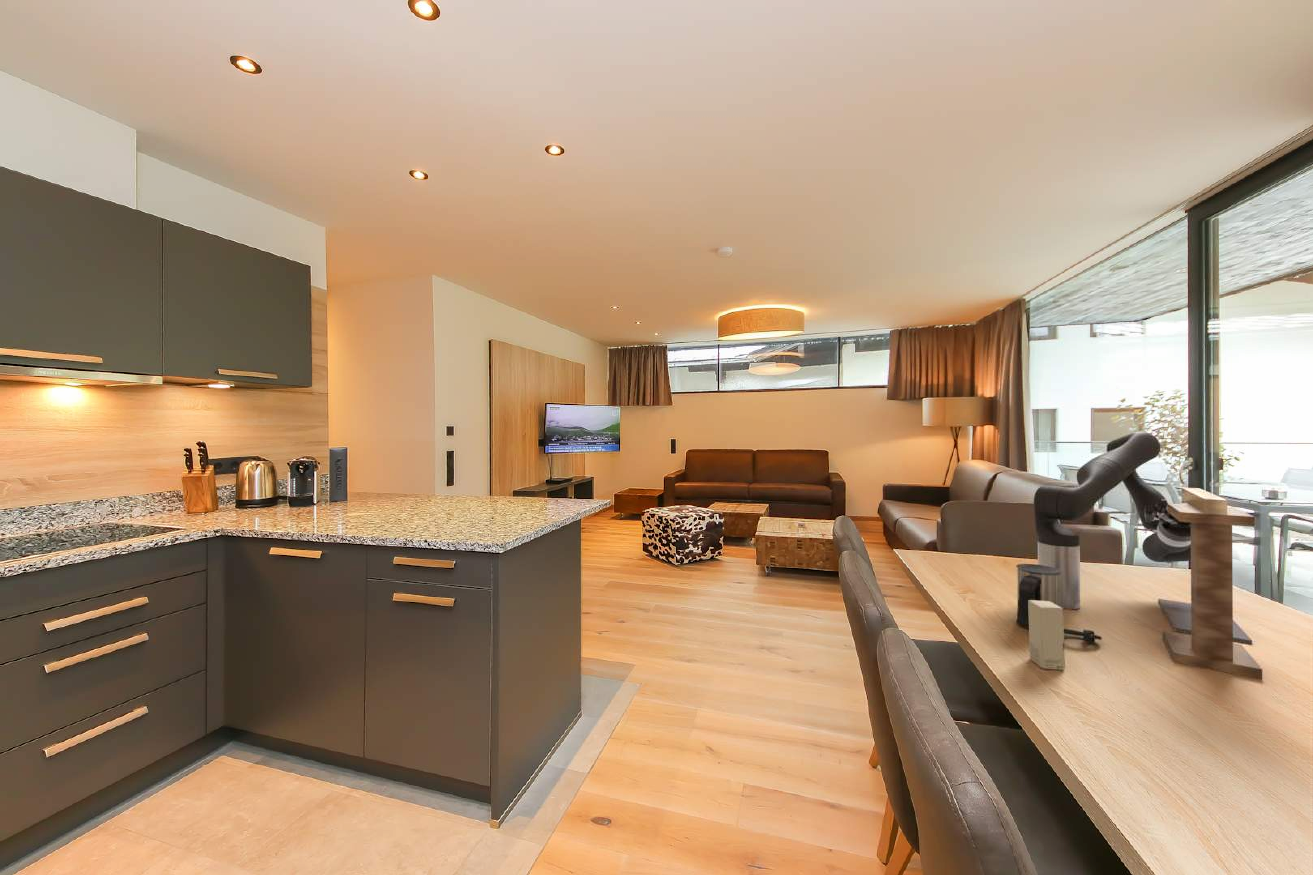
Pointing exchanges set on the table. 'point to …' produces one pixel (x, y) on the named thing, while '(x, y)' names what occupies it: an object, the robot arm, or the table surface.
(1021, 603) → the milk frother
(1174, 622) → the charcoal mat
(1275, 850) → the table surface
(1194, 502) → the birch bar
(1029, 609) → the box
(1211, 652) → the walnut pedestal
